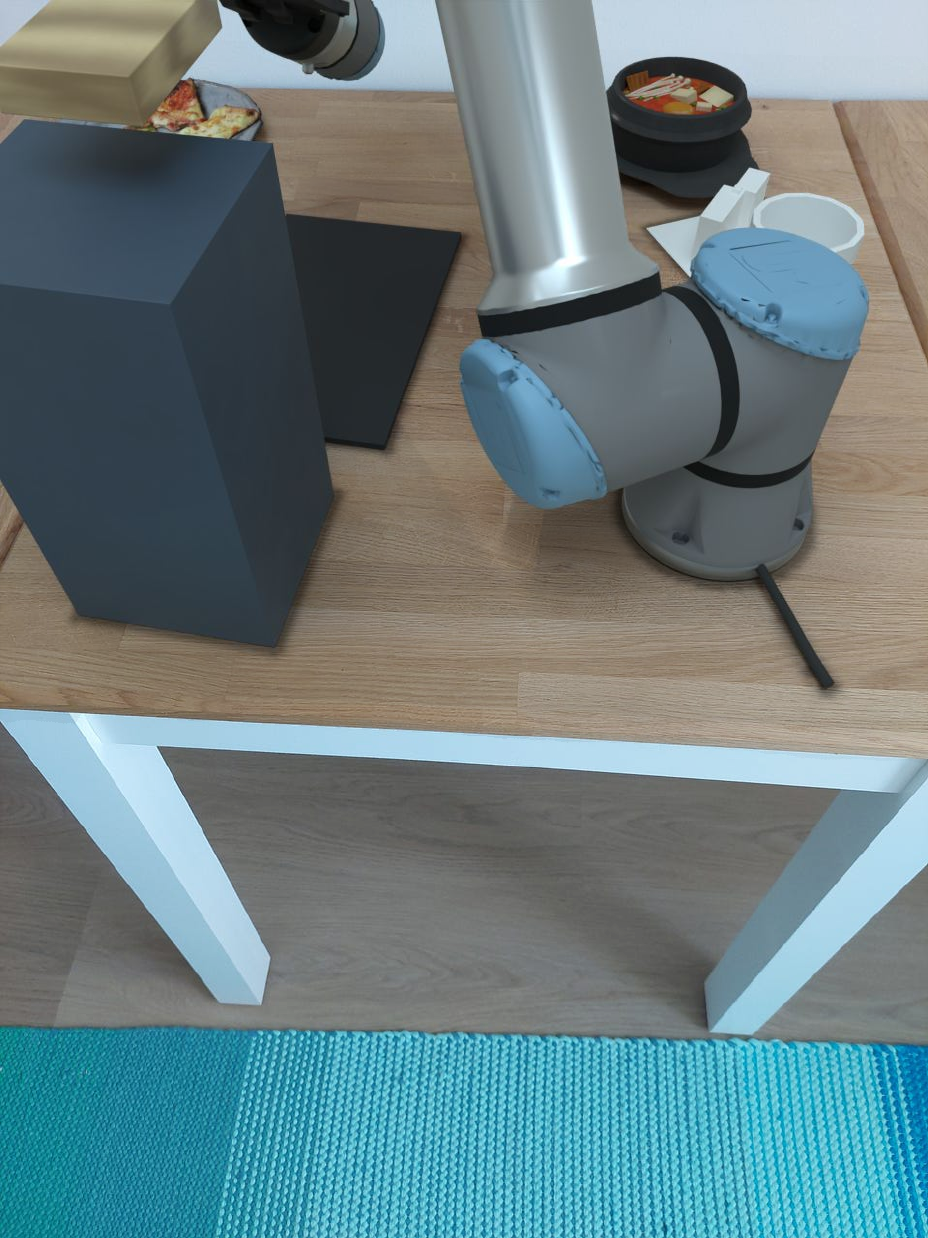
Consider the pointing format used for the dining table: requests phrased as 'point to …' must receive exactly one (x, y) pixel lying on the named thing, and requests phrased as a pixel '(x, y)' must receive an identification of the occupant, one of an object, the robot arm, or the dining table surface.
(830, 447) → the dining table surface
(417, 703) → the dining table surface
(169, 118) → the food plate
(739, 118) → the casserole
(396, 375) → the mat
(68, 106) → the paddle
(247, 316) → the pedestal
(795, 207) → the foam cup
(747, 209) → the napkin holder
